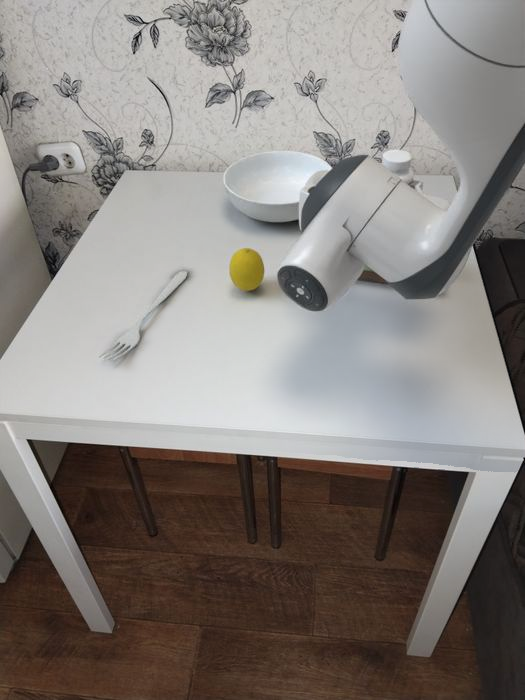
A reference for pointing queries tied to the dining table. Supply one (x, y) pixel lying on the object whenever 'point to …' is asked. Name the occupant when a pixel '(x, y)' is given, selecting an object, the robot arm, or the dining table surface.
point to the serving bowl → (271, 183)
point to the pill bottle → (399, 164)
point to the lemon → (246, 269)
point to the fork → (133, 335)
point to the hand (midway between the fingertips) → (395, 180)
